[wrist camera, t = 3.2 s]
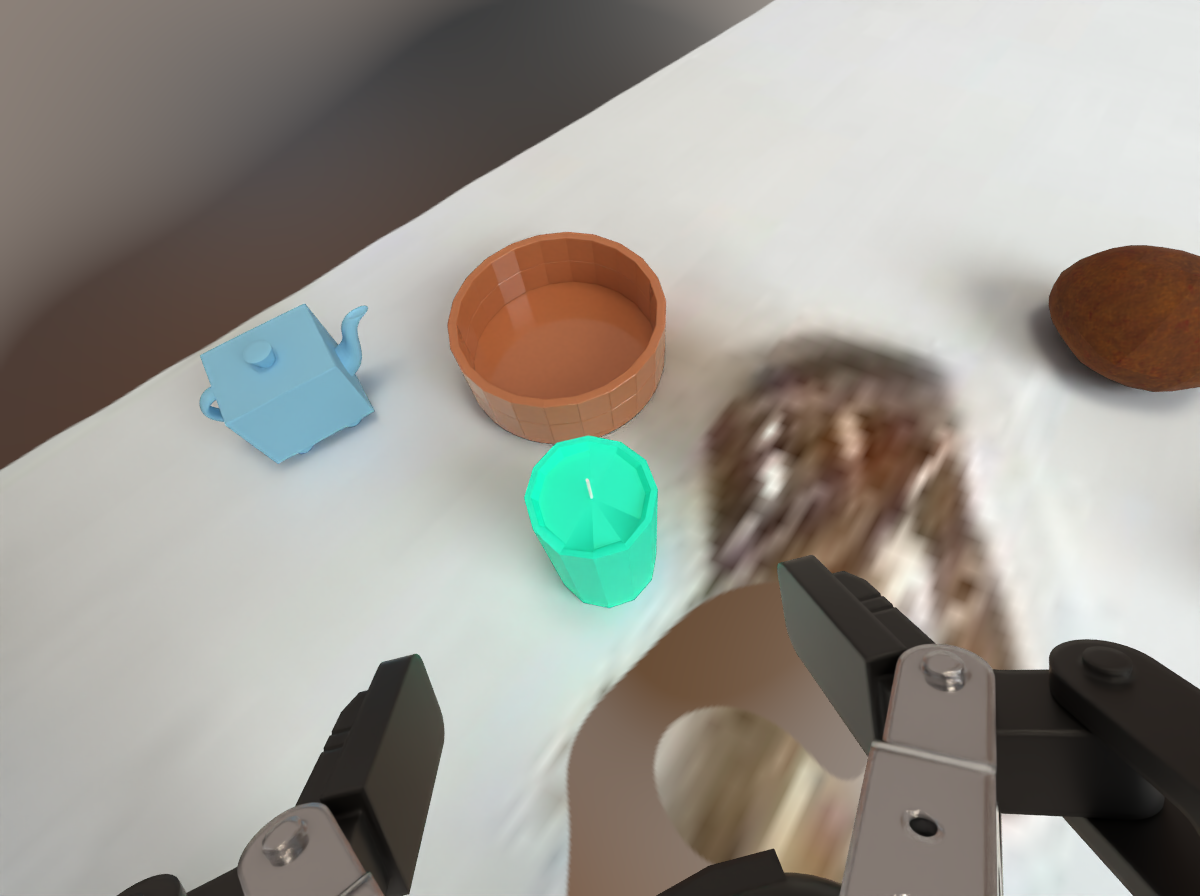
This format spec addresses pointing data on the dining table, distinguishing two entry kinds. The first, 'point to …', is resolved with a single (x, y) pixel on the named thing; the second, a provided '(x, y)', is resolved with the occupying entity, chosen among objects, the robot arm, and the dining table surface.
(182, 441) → the dining table surface
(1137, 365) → the potato
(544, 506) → the candle
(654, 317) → the pot
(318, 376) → the teapot
